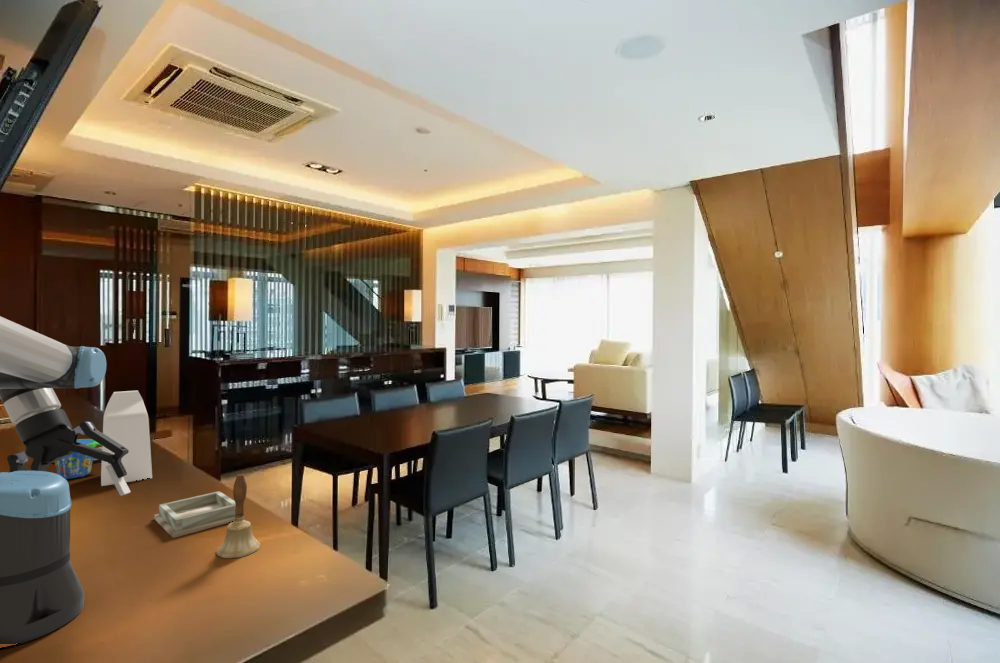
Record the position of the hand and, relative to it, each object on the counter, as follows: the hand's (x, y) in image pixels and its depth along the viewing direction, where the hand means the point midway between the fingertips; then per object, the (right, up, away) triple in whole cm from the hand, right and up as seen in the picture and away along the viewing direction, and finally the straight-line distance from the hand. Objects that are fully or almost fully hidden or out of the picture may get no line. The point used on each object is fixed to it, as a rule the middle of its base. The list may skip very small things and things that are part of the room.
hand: (88, 513), depth 97 cm
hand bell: (+25, -11, +9) cm, 28 cm away
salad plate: (-59, -8, +73) cm, 94 cm away
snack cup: (-49, -9, +54) cm, 74 cm away
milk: (-33, -9, +54) cm, 64 cm away
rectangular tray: (+7, -10, +24) cm, 27 cm away
